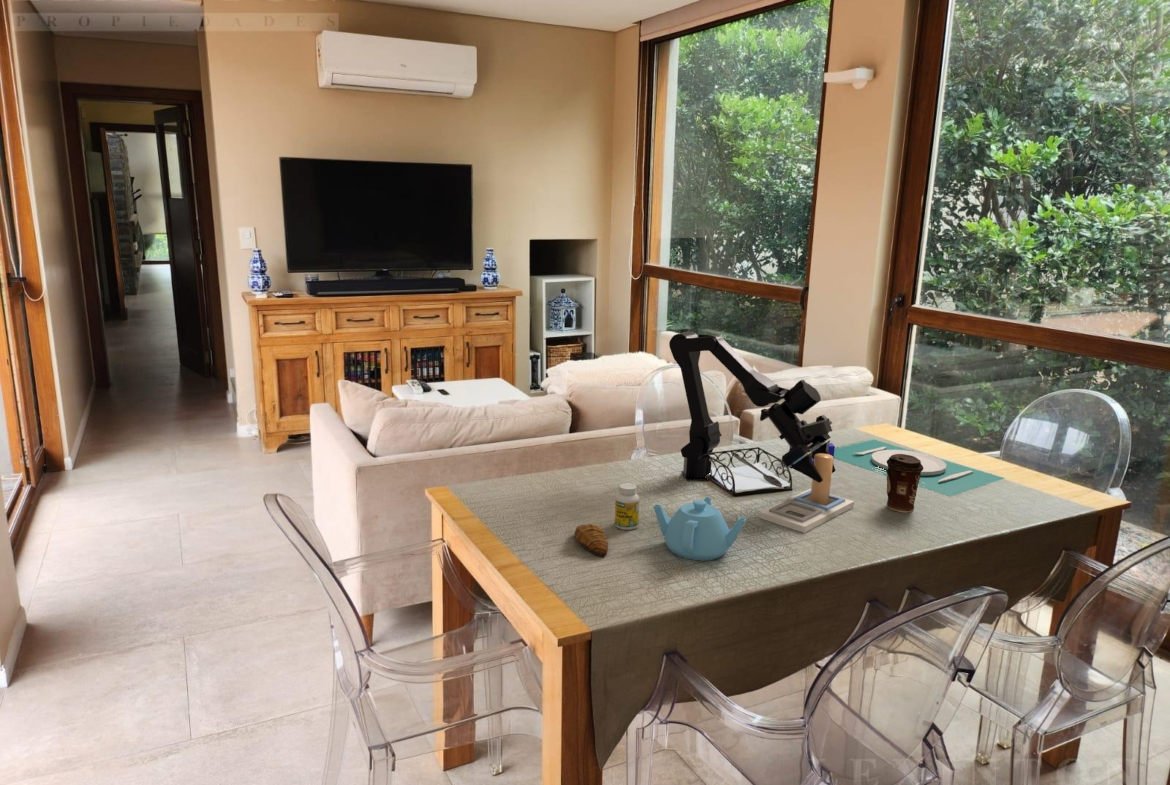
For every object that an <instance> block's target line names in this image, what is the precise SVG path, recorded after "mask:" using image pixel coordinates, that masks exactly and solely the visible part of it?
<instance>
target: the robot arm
mask: <svg viewBox="0 0 1170 785" xmlns="http://www.w3.org/2000/svg"><path fill="white" fill-rule="evenodd" d="M668 345H669V349H670V352H671V355H672V358H673V359H674V361H675V362H676V364H677V365H678V366H679V369H680V372H681V377H682V381H683V386H684V390H685V391H684V392H685V396H686V400H687V405H688V410H689V414H690V425H689V426H690V427H689V432H688V435H689V438H688V439H689V442H687V444H685V445H684V446H683V447H681V448H680V452H681V456H682V458H683V470H681V475H682V477H684V479H685V480H686V481H708V480H707V478H705V476H706V475H707V474H709V473H712V460H711V459H710V457H711V456H710V454H711V453H713V451H714V449H715V448H717V447H718V445H719V444H720V442H721V437H722V433H721V431H720V423H719V421H718V420H717V421H715V422H714V421H713V419H712V418H711V417H710V414H709V408H708V405H707V400H706V394H705V390H704V385H703V380H702V375H701V371H700V366H699V363H700V358H701V352H710V353H711V354H712V355H713V357H715V358H716V359H717V360H718V362H720V363H721V365H723V366H724V367H725V368H726V369H727V370H728V371H729V373H731V374H732V376H734V377H735V378H736V379H737V380H738V381H739V382H740V385H742V388H743V390H744V392H745V394H746V396H747V398H748V399H749V400H750V402H751V403H752V404H753V405H755V406H756V407H764V408H762V409H761V410H760V417H759V421H761V422H762V421H764V420H767V419H769V421H770V422H771V423H772V424H773V426H774V427H775V428H776V429H777V431H778V433H780V435H778V438H779V439H780V440H783V439H784V440H785V441H786V443H787V444H788V446H789V449H790V447H791V449H790V450H789V449H788V450H789V451H787V452H786V453H785V454H783V455H781V462H782V464H783V465H784V466H785V467H786V468H789V469H790V470H791V469H792V470H795V471H797V472H799V473H801V474H802V475H805V476H806V477H808V478H810V479H811V480H812V479H813V480H815V481H817V482H819V483H820V482H822V481H823V479H822V477H821V475H820V473H819V472H818V470H817V468H816V467H815V465H814V463H813V462H812V458H813V459H814V457H815V454H819V453H822V454H829V451H828V447H829V443H831V440H830V439H831V435H829V433H830V432H831V433H832V432H833V429H832V426H831V425H832V424H833V422H832V421H831V420H830V418H828V417H827V416H826V415H824V414H822V415H819V416H817V417H816V419H815V421H813V422H810V423H807V421H806V420H804V419H801V420H800V419H799V417H798V416H797V415H796V414H799V415H804V414H805V413H806V412H808V411H809V410H811V408H813V407H814V406H816V405H817V404H818V403H819V402H821V401H822V400H821V399H822V398H821V395H820V393H819V392H818V390H817V389H816V388H815V387H814V386H812V384H810V383H807V382H806V381H805V379H801V380H799V381H797V383H795V385H794V386H792V387H791V388H790V389H788V388H786V387H785V388H784V387H781V386H779V385H778V384H777V383H776V382H775V381H774V380H772V379H771V378H769V377H767V375H764V374H762V373H760V372H759V371H756V370H755V369H754V368H753V367H752V366H751V365H750V364H749V363H748V362H747V361H746V360H745V359H744V358H743V357H742V356H741V355H740V354H739V353H738V352H737V351H736V350H735V349H734V348H733V347H732V346H731V345H730V344H729V343H728V342H727V341H726V340H725V339H724V337H723V336H722V335H721V334H718V333H716V334H715V333H714V334H697V333H696V332H694V331H689V330H688V331H684V332H680V333H676V334H674V335H673V336H671V339H670V340H669V343H668ZM783 400H784V401H783ZM781 401H783V402H782V403H778V402H781ZM770 404H772V405H771V406H770V407H768V408H765V407H767V406H768V405H770ZM829 455H830V454H829ZM792 463H793V464H794V465H792V466H791V464H792ZM835 472H836V468H835V464H833V466H832V474H833V473H835Z"/></svg>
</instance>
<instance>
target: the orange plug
mask: <svg viewBox="0 0 1170 785" xmlns="http://www.w3.org/2000/svg"><path fill="white" fill-rule="evenodd" d="M814 465H815V467H816V468H817V470H818V472H819V473H820V475H821V477H822V479H823V481H822V482H820V483H819V482H817V481H815V480H813V479H812V478H811V496H810V501H811V502H815V503H818V504H821V505H825V506H827V505H829V494H831V493H830V492H831V485H832V484H831V483H832V474H833V473H832V466H833V465H834V459H833V456H832V455H829V454H822V453H819V454H815V457H814Z"/></svg>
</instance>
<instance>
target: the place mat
mask: <svg viewBox="0 0 1170 785" xmlns="http://www.w3.org/2000/svg"><path fill="white" fill-rule="evenodd" d="M894 454H906V455H911V456H914V457H916V458H918V459H919V460H920V461H921V465H922V466H923V470H922V471H921V473H920V474H921V476H920V480H919V486H918V487H920V488H922V489H926V490H929V491H933V492H934V493H937V494H941V495H944V496H947V497H952V496H953V497H954V496H956V495H960V494H962V493H965V492H967V491H971V490H975V489H977V488H981V487H982V486H986V485H989V484H992V483H995V482H999V481H1001V480H1004V479H1006V478H1005V477H1003V476H999V475H996V474H993V473H988V472H985V471H981V470H979V469H975V468H971V467H969V466H965V465H961V464H959V463H956V462H951V461H948V460H945V459H941V458H938V457H936V456H934V455H930V454H926V453H922V452H917V451H914V450H911V449H907V448H904V447H901V446H899V445H893V444H891V443H886V442H883V441H882V440H877V439H871V440H866V441H862V442H857V443H854V444H849V445H845V446H840V447H836V448H835V450H834V459H833V460H837V461H841V462H843V463H847V464H850V465H853V466H856V467H858V468H862V469H865V470H868V471H872V472H874V471H877V470H875V469H878V468H875V467H878V466H879V468H882V469H883V468H884V470H886V471H884V470H881V471H884V472H886V473H884V472H881V471H878V472H881V473H883V474H885V475H884V476H886V477H887V471H888V464H887V460H888V459H889V457H890V456H892V455H894ZM872 468H873V469H872ZM878 470H880V469H878ZM883 474H882V475H883ZM922 482H924V483H925V484H924V483H922ZM923 486H925V487H923Z"/></svg>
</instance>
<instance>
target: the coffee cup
mask: <svg viewBox="0 0 1170 785" xmlns="http://www.w3.org/2000/svg"><path fill="white" fill-rule="evenodd" d="M887 464H888V471H887V476H886V495H887V501H886V507H887V508H889V509H890V510H891V511H895V512H898V513H905V514H906V513H912V512H913V511H914V509H915V501H916V497H917V492H918V487H919V486H918V484H919V480H920V476H921V474H920V473H921V471H922V470H923V466H922V465H921V461H920V460H919V459H918V458H916V457H914V456H911V455H906V454H894V455H892V456H890V457H889V459H888V460H887Z"/></svg>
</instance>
